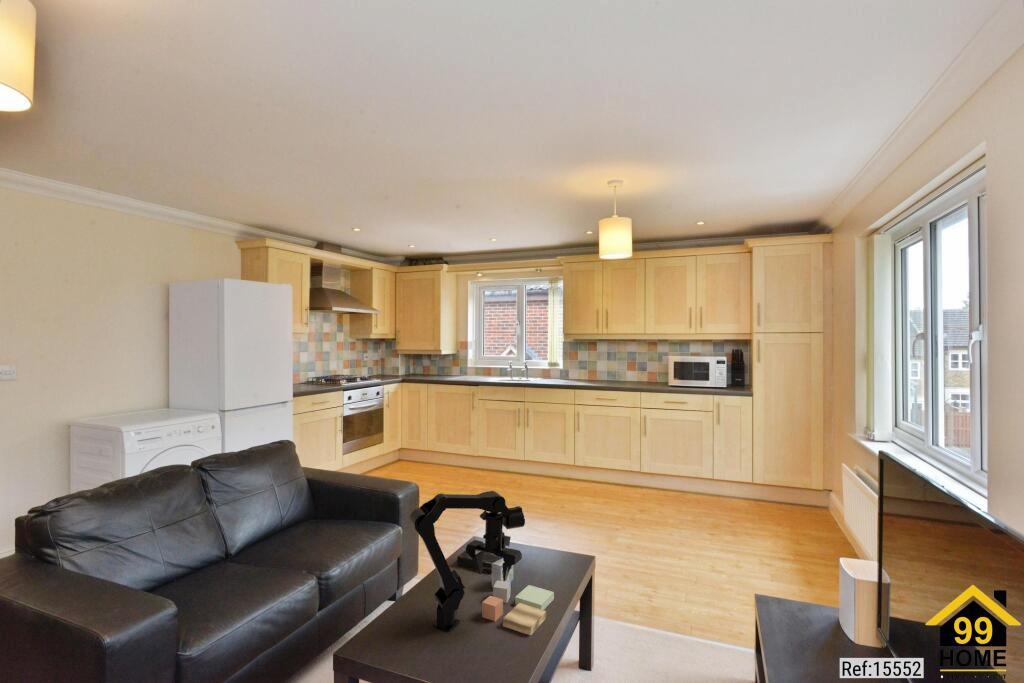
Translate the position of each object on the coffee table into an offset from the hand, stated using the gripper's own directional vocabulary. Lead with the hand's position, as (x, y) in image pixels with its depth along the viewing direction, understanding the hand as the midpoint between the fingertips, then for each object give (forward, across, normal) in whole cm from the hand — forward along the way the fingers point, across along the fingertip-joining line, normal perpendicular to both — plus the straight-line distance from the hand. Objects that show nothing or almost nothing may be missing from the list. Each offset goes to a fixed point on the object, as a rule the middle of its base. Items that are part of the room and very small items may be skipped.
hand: (492, 577), depth 168 cm
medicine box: (+12, +6, -19) cm, 24 cm away
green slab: (+12, -9, -14) cm, 20 cm away
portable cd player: (+12, +22, -33) cm, 41 cm away
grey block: (+12, +2, -10) cm, 16 cm away
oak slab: (+12, -12, -1) cm, 17 cm away
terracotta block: (+12, -1, +1) cm, 12 cm away
